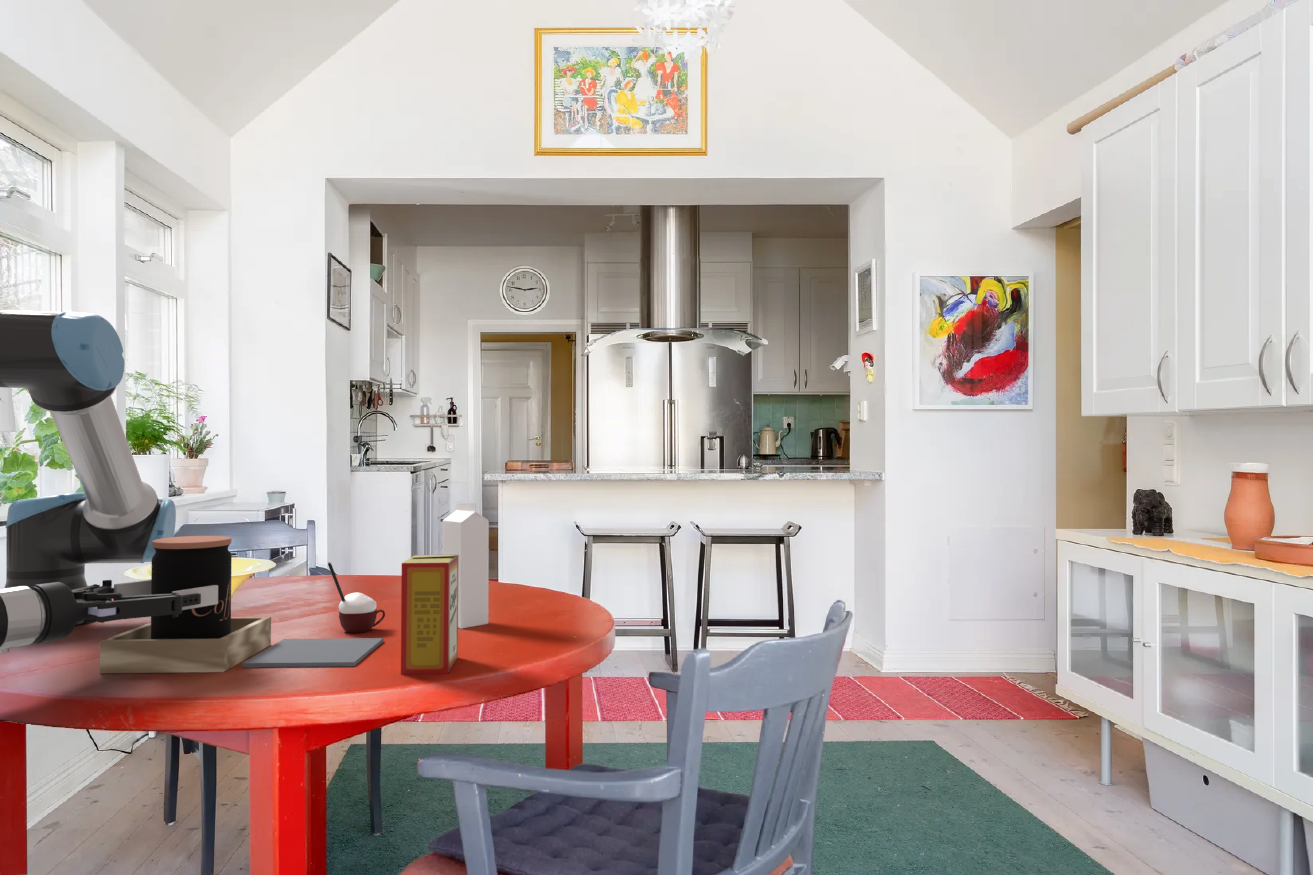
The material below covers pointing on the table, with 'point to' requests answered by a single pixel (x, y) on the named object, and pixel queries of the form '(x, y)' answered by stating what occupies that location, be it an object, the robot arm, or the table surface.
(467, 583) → the milk
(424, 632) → the baking soda box
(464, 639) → the table surface
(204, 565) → the coffee jar
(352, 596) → the cocoa
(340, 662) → the slate mat
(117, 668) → the wooden tray
